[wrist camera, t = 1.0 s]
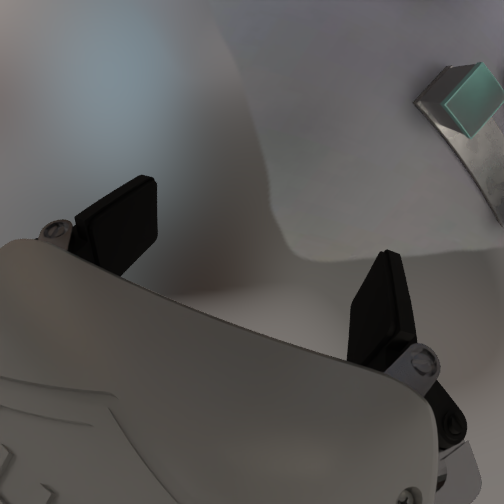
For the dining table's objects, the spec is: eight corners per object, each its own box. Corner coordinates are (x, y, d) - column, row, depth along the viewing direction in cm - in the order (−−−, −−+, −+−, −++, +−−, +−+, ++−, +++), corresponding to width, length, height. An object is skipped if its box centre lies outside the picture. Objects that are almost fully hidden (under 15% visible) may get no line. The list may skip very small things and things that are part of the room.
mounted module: (449, 66, 20) (482, 62, 12) (471, 92, 20) (507, 97, 13) (418, 100, 24) (444, 104, 17) (440, 126, 24) (471, 139, 17)
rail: (446, 66, 21) (452, 65, 19) (527, 191, 24) (533, 196, 22) (412, 102, 26) (416, 103, 24) (498, 222, 29) (503, 228, 27)
